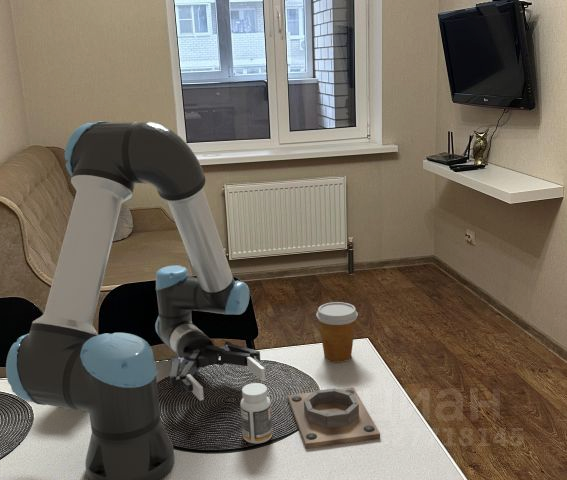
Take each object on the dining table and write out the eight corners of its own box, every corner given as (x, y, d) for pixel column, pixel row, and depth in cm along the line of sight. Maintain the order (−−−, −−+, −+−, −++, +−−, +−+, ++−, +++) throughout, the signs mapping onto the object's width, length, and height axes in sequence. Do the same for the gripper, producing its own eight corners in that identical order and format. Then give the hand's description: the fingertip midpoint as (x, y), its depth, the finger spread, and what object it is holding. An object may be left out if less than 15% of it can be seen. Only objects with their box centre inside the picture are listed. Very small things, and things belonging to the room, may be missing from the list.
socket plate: (305, 448, 118) (305, 431, 117) (287, 399, 135) (287, 384, 134) (380, 438, 120) (380, 421, 119) (353, 391, 137) (353, 376, 136)
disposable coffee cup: (363, 362, 150) (363, 313, 147) (323, 368, 148) (322, 318, 145) (350, 345, 159) (350, 299, 156) (313, 350, 157) (311, 304, 154)
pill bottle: (274, 428, 125) (272, 381, 122) (270, 445, 119) (268, 396, 116) (244, 427, 125) (241, 381, 123) (240, 444, 120) (236, 396, 117)
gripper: (242, 347, 153) (288, 383, 136) (140, 376, 142) (175, 420, 124) (240, 317, 151) (286, 350, 134) (136, 344, 140) (171, 384, 122)
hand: (233, 384), depth 129 cm, fingers open, 13 cm apart
